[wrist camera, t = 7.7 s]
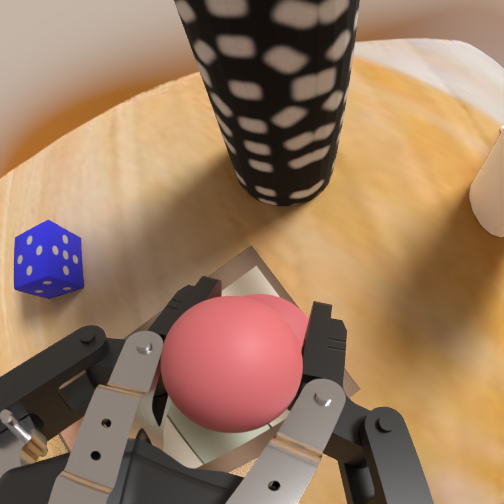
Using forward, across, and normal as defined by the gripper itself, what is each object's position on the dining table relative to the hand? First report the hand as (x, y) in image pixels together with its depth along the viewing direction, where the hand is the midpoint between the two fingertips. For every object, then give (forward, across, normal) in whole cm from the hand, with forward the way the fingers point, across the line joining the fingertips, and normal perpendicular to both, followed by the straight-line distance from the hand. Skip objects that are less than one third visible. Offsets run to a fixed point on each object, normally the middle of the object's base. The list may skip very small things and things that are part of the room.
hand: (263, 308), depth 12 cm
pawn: (+1, 0, +4) cm, 4 cm away
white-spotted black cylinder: (+16, +2, -2) cm, 16 cm away
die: (+6, +20, +7) cm, 22 cm away
